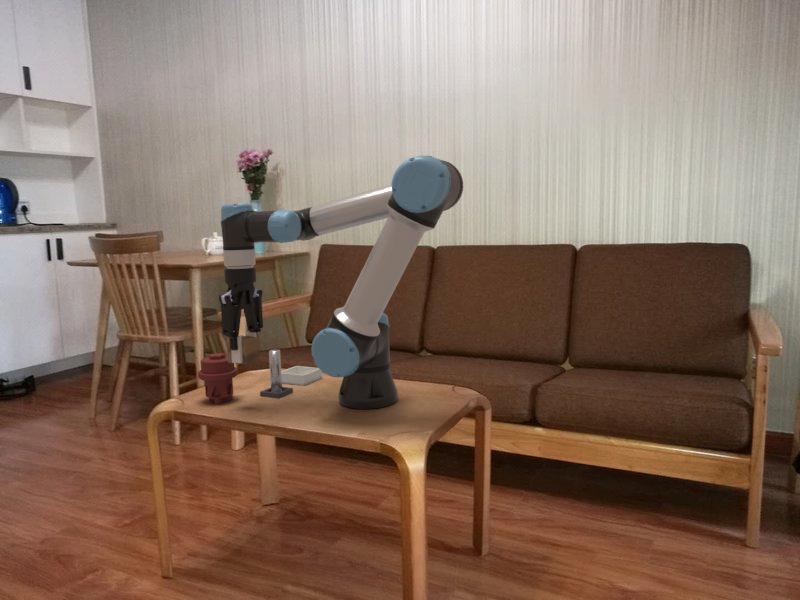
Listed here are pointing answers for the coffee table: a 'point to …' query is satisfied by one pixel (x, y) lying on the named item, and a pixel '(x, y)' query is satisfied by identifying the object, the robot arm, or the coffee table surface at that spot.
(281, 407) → the coffee table surface
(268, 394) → the socket
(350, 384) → the robot arm
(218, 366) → the mechanical component
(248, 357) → the block
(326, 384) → the coffee table surface
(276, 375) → the pin
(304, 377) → the tray
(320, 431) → the coffee table surface
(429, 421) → the coffee table surface
